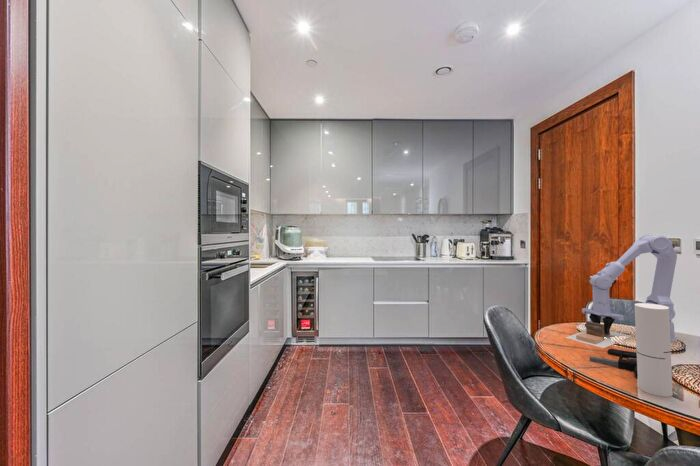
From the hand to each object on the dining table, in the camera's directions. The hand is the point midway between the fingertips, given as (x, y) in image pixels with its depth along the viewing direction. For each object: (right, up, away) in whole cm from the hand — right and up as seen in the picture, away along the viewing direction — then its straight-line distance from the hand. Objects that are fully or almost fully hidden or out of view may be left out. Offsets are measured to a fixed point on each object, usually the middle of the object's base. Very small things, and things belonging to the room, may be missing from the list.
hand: (602, 332), depth 130 cm
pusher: (-2, -1, -1) cm, 3 cm away
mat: (-3, -2, -2) cm, 4 cm away
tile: (-7, -1, -3) cm, 8 cm away
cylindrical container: (-22, -3, -43) cm, 48 cm away
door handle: (-16, -3, -26) cm, 31 cm away
